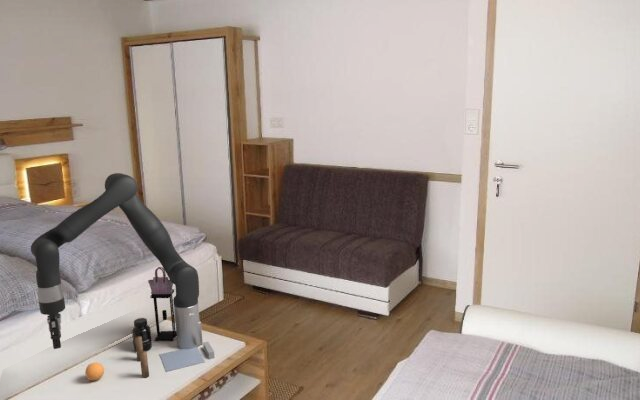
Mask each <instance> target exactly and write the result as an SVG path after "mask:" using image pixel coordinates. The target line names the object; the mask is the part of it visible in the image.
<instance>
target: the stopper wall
mask: <svg viewBox="0 0 640 400" xmlns="http://www.w3.org/2000/svg"><path fill="white" fill-rule="evenodd" d="M202 346H203V350H204V352H205V354H206V356H207V357H208V359H209V360H212V359H215V351H214V349H213V347H212V346H211V344H210V343H209V341H205V342H204V341H203V344H202Z"/></svg>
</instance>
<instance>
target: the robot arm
mask: <svg viewBox="0 0 640 400" xmlns="http://www.w3.org/2000/svg"><path fill="white" fill-rule="evenodd" d="M138 188H139V186H138V182H137V181H136V179H135V178H134V177H132V176H130V175H128V174H125V173H120V172H116V173H111V174H109V175H108V176H107V177H106V178H105V181H104V189H105V191H104V192H103V193H102V194H100V195H99V196H98V197H96V198H95V199H94V200H93V201H91V202H89V203H87V204H86V205H84V206H82V207H81V208H78V209H77V210H76V211H73V212H72V213H71V214H69V215H68V216H67V217H65V218H64V219H63V220H62V221H61V222H60V223H58V224H57V225H56V226H54V227H53V228H51V229H49V230H47V231H45V232H44V233H42V234H41V235H40V236H38V237H36V239H35V240H33V242H31V245H30V252H31V254H32V256H34V259H35V263H36V264H35V265H36V272H35V276H36V277H35V278H36V285H37V286H36V287H37V297H38V300H37V301H38V306H39V311H40V314H41V315H45V316H47V318H46V321H47V324H48V331H49V334H50V339H51V340H52V346H53V349H54V350H56V349H60V348H61V347H62V343H61V338H62V334H61V333H62V332H61V330H62V328H61V327H62V326H61V323H62V314H61V313H62V312H64V310H65V309H66V302H65V294H64V288H63V284H62V278H61V271H60V260H61V259H60V250H59V248H60V247H62V246H63V245H65V244H67V243H71V242H74V240H76V239H77V238H78V237H80V236H81V235H82V234H83V233H84V232H85V231H87V229H89V228H90V227H91V226H93V225H94V224H95V223H96V222H98V221H99V220H100V219H102V218H103V217H104V216H105V215H107V214H109V213H110V212H111V211H113V210H115V209H116V208H118V207H119V208H120V210H122V212H123V214H125V217H126V218H127V219H128V221H129V223H130V225H131V226H132V228H133V229H134V231H135V233H136V234H137V236H138V237H139V238H140V240H141V241H142V242H143V244H144V245H145V246H146V247H147V249H148V250H149V251H150V252H151V253H152V255H153V256H154V257H155V258H156V259H157V261H158V262H159V263H160V264H161V267H163V268H164V270H165V274H166V276H167V277H168V279H169V280H170V281H171V282H172V283H173V285H175V296H174V297H173V308H174V319H175V330H176V335H177V336H176V344H177V347H178V349H192V348H196V347H197V348H198V347H199V346H201V345H202V346H203V343H204V341H203V333H202V332H203V330H202V322H201V320H200V311H199V310H200V309H199V308H200V307H199V296H200V282H199V281H200V280H199V279H200V278H199V273H198V271H197V269H196V268H195V267H193V266H192V265H191V264H189V263H187V262H186V261H185V260H184V258H183V257H181V255H180V254H179V252H177V250H176V249H175V247H174V243H173V241H172V238H171V236H170V233H169V231H168V230H167V228H166V227H165V226H164V224H163V223H162V221H161V220H160V219H159V217H157V215H156V214H154V211H152V210H150V208H148V206H146V205H145V203H143V202H142V200H141V199H140V197H139V196H138V194H137V192H138Z"/></svg>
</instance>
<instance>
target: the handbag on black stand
mask: <svg viewBox="0 0 640 400" xmlns="http://www.w3.org/2000/svg"><path fill="white" fill-rule="evenodd" d="M158 270H160V271H162V276H158V272H159V271H158ZM147 282H148V284H149V287H150V294H151V295H150V297H149V298H150V299H153V307H154V317H155V319H154V320H155V327H156V328H155V329H156V336H155V338H154V339H153V340H154V342H173V341H174V340H175V339H176V338H177V335H176V324H175V313H174V302H173V299H174V297H173V294H174V292H175V291H176V288H174V289H173V285H174V284H173V283H172V282H171V281H170V279H169V277H168V276H167V274H166V272H165V270H164V268H163V266H158V267H157V268H156V269H155V271H154V277H152V279H148V280H147ZM158 299H169V304H170V306H169V307H170V315H171V317H170V318H171V327H172V328H171V329H172V330H160V322H159V321H160V319H159V312H158V311H159V310H158V302H157V300H158ZM161 312H162V321H166V320H167V319H168V317H167V316H168V315H167V309H162V311H161Z"/></svg>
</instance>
